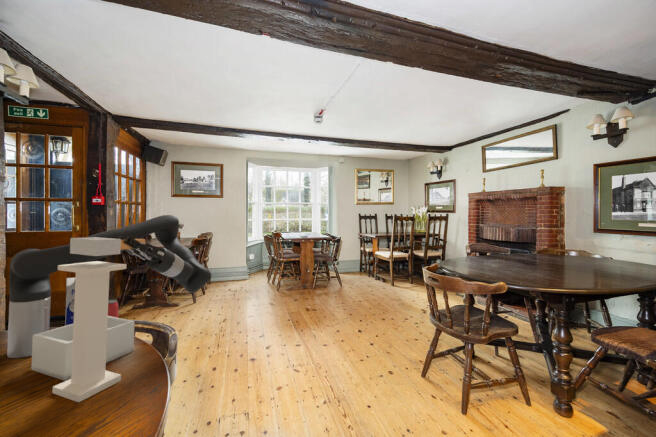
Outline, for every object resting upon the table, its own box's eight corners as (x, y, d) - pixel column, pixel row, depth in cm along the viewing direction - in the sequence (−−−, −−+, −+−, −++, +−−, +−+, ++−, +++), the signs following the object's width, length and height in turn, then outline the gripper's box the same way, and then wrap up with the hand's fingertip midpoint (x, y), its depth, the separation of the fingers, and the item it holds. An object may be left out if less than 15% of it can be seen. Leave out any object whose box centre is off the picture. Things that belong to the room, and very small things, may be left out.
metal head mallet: (69, 253, 74) (70, 238, 74) (130, 248, 89) (130, 235, 89) (95, 256, 70) (96, 240, 70) (153, 250, 85) (154, 237, 86)
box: (31, 369, 81) (32, 334, 81) (102, 343, 99) (103, 314, 99) (64, 380, 76) (66, 343, 76) (133, 351, 94) (134, 321, 94)
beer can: (105, 336, 104) (106, 304, 105) (91, 334, 106) (92, 302, 106) (121, 330, 111) (123, 299, 111) (108, 328, 112) (109, 298, 112)
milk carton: (87, 324, 116) (89, 275, 116) (89, 329, 111) (91, 278, 111) (64, 328, 111) (66, 277, 111) (64, 333, 106) (67, 280, 106)
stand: (49, 392, 71) (55, 265, 72) (93, 372, 81) (98, 260, 81) (81, 403, 67) (87, 269, 68) (123, 381, 77) (128, 264, 77)
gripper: (156, 251, 99) (112, 226, 85) (186, 254, 95) (146, 228, 81) (145, 271, 96) (98, 249, 82) (176, 275, 91) (133, 252, 77)
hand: (122, 239), depth 81 cm, fingers closed on metal head mallet, 2 cm apart
